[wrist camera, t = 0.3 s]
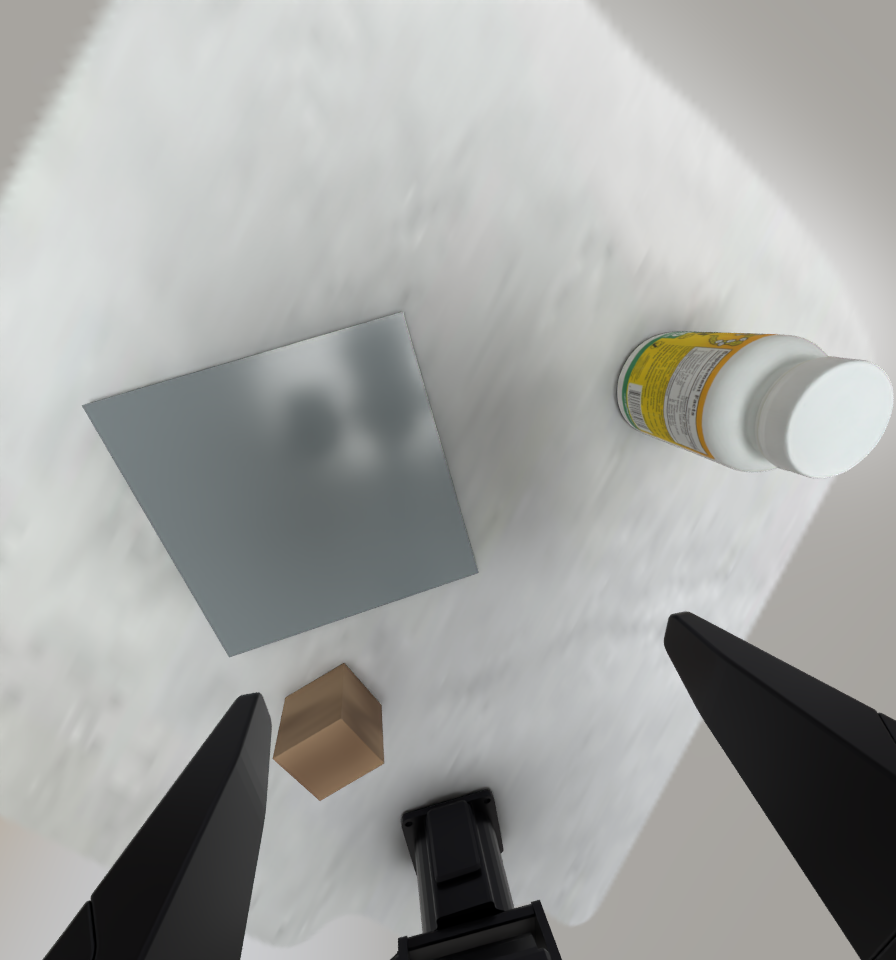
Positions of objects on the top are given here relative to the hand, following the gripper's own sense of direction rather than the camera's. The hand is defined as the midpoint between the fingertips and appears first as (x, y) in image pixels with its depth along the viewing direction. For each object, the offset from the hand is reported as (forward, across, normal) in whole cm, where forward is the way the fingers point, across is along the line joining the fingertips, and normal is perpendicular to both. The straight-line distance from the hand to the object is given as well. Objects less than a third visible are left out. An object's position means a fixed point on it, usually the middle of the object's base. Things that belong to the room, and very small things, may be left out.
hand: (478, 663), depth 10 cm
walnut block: (+12, +6, +16) cm, 21 cm away
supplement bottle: (+14, -14, -1) cm, 20 cm away
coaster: (+14, +5, +2) cm, 15 cm away
